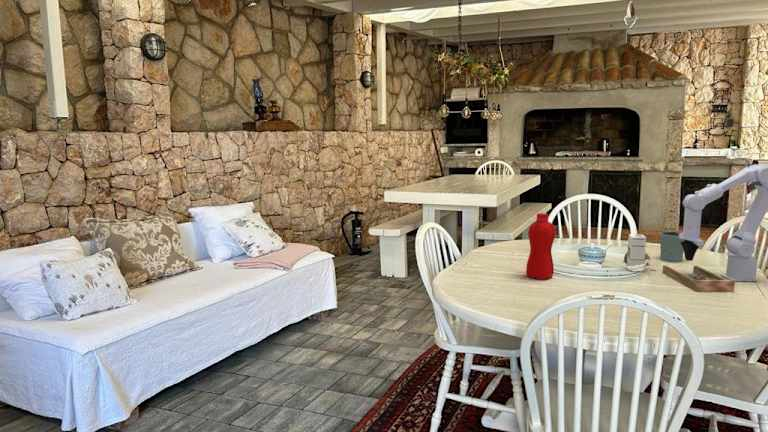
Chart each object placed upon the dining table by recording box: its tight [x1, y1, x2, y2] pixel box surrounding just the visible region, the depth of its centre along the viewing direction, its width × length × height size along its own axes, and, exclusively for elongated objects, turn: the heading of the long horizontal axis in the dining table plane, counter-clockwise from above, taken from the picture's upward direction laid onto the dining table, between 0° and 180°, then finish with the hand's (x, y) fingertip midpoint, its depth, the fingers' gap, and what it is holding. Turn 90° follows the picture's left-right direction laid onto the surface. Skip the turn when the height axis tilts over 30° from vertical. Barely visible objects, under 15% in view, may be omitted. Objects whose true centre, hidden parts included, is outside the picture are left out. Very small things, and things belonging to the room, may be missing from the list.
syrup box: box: [626, 233, 647, 273], centre depth 229 cm, size 6×6×14 cm
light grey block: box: [623, 251, 651, 263], centre depth 242 cm, size 10×10×8 cm
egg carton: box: [684, 272, 717, 281], centre depth 209 cm, size 11×8×4 cm
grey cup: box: [659, 230, 685, 263], centre depth 246 cm, size 10×10×12 cm
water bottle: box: [525, 212, 556, 281], centre depth 219 cm, size 9×11×25 cm
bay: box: [662, 265, 736, 293], centre depth 214 cm, size 13×25×4 cm, turn 179°
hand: (689, 260), depth 219 cm, fingers closed
